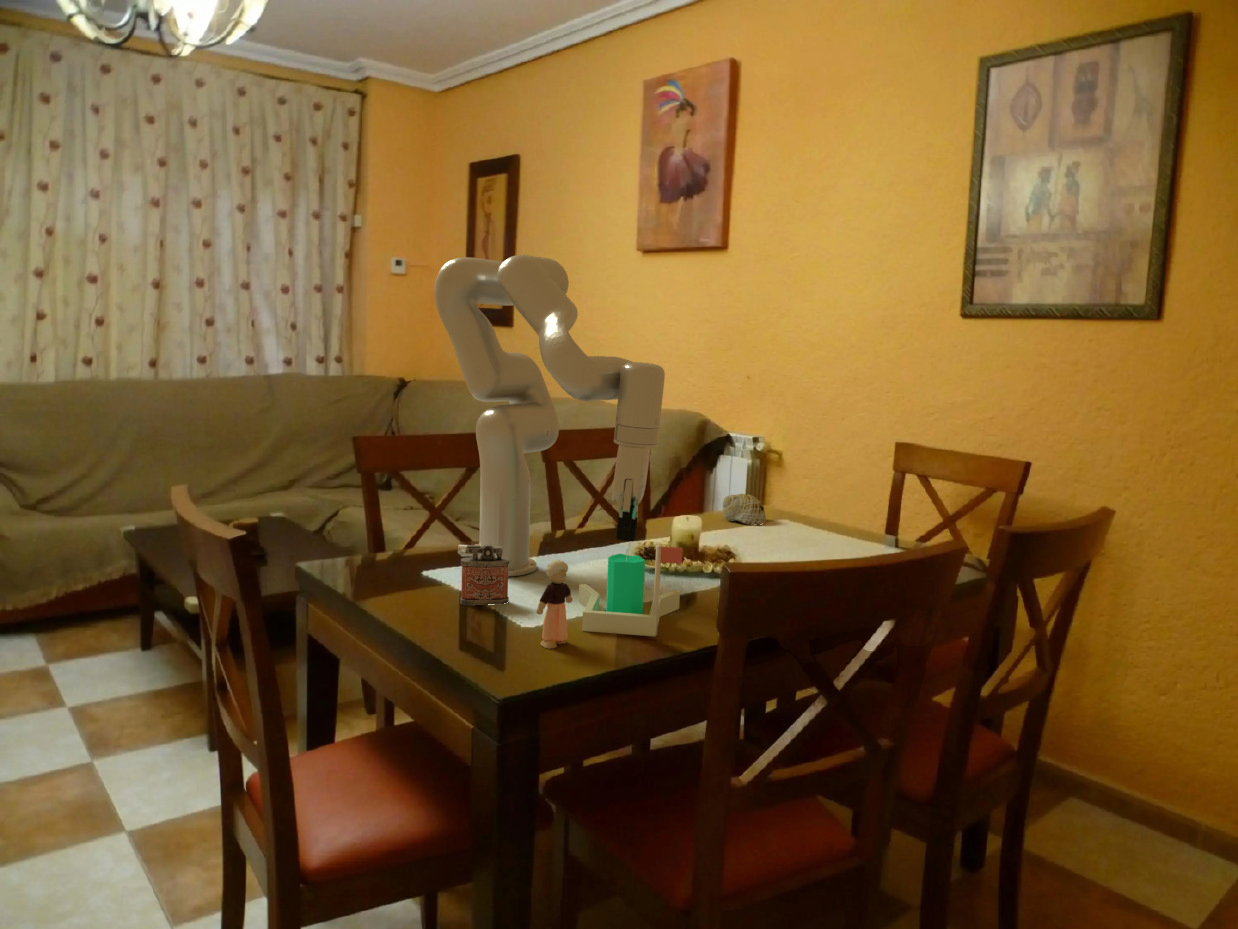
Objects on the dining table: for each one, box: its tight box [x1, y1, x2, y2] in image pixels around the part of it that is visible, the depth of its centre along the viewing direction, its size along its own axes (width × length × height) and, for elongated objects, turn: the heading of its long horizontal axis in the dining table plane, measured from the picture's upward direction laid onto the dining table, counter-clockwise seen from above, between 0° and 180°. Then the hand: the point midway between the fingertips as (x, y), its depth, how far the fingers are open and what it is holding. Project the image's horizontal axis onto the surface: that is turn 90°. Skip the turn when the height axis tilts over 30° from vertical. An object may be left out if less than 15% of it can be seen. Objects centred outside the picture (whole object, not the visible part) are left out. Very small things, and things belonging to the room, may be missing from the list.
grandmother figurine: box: [535, 558, 573, 650], centre depth 134 cm, size 8×4×13 cm, turn 156°
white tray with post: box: [578, 545, 683, 637], centre depth 146 cm, size 18×16×14 cm
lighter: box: [459, 544, 510, 606], centre depth 152 cm, size 8×3×10 cm, turn 100°
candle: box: [605, 550, 646, 614], centre depth 145 cm, size 6×6×12 cm
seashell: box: [722, 493, 767, 526], centre depth 228 cm, size 10×10×10 cm
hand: (625, 539), depth 157 cm, fingers closed
